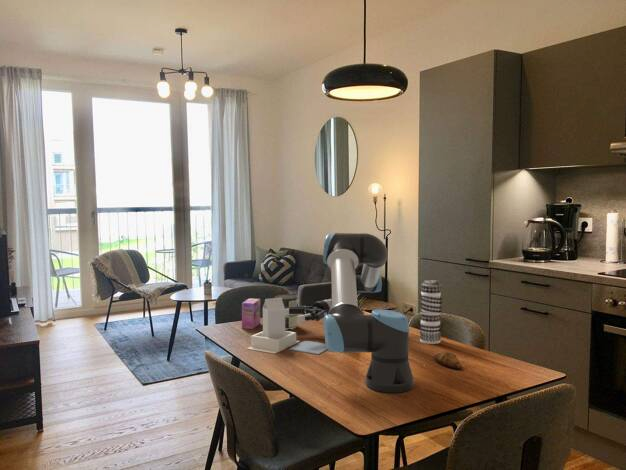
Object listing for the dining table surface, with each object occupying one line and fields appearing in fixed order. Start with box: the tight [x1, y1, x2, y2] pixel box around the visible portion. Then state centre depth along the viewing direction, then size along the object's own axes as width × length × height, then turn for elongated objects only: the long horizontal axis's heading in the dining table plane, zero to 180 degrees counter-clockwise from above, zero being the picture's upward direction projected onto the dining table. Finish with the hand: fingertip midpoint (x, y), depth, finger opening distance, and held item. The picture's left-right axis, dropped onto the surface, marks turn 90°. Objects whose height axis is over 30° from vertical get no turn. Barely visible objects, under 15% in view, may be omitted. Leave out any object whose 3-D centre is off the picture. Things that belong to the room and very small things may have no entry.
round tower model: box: [419, 279, 443, 345], centre depth 216 cm, size 9×9×25 cm
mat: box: [288, 340, 329, 355], centre depth 207 cm, size 13×13×1 cm
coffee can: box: [274, 293, 298, 331], centre depth 239 cm, size 10×10×14 cm
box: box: [241, 297, 261, 330], centre depth 241 cm, size 10×6×12 cm, turn 168°
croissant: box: [433, 351, 462, 370], centre depth 187 cm, size 14×7×5 cm, turn 24°
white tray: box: [246, 330, 301, 355], centre depth 211 cm, size 19×13×4 cm
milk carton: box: [262, 297, 286, 339], centre depth 210 cm, size 7×7×19 cm
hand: (287, 316), depth 215 cm, fingers open, 13 cm apart
